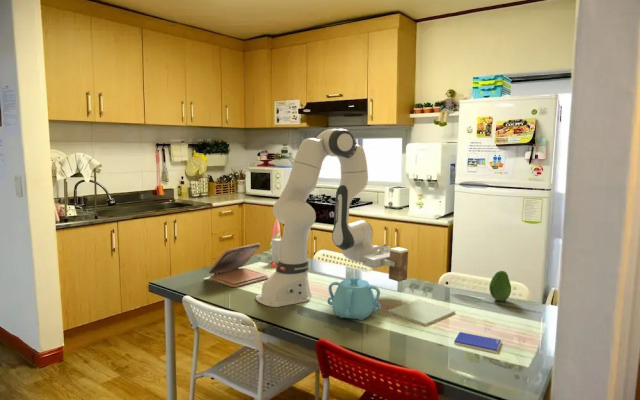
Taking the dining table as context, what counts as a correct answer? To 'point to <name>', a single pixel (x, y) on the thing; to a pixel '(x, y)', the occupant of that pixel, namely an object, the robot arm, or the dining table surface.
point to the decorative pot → (353, 298)
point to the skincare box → (276, 250)
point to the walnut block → (398, 264)
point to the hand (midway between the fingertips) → (400, 262)
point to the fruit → (500, 286)
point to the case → (236, 267)
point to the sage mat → (422, 312)
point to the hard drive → (478, 342)
